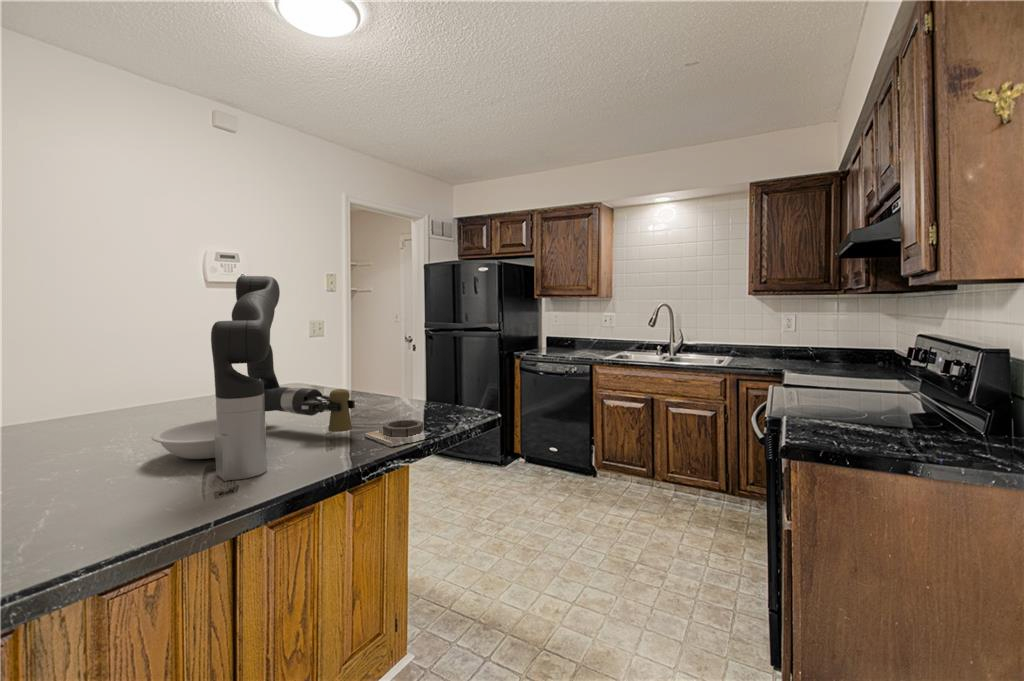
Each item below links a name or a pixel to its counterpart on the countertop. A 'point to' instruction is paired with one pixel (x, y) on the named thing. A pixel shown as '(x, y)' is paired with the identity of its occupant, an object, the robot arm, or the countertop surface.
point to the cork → (342, 418)
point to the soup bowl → (189, 439)
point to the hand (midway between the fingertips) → (347, 405)
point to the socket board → (398, 429)
